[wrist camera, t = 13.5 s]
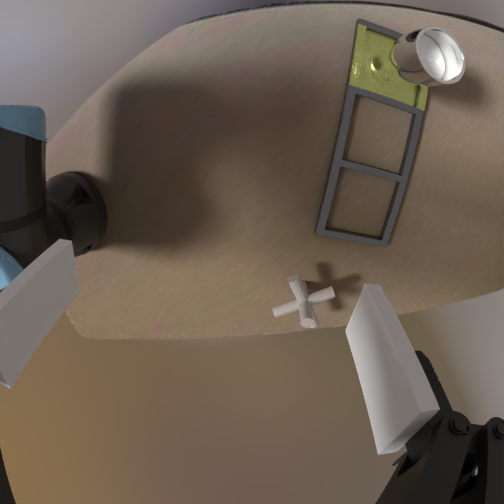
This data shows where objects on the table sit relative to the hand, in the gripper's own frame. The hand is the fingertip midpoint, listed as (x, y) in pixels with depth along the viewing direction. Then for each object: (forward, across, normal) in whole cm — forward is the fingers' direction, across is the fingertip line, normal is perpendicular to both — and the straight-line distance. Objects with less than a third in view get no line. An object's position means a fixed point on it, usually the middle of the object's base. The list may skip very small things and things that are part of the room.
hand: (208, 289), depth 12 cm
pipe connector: (+32, +12, -20) cm, 40 cm away
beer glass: (+32, +18, +18) cm, 41 cm away
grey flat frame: (+32, +18, +7) cm, 38 cm away
